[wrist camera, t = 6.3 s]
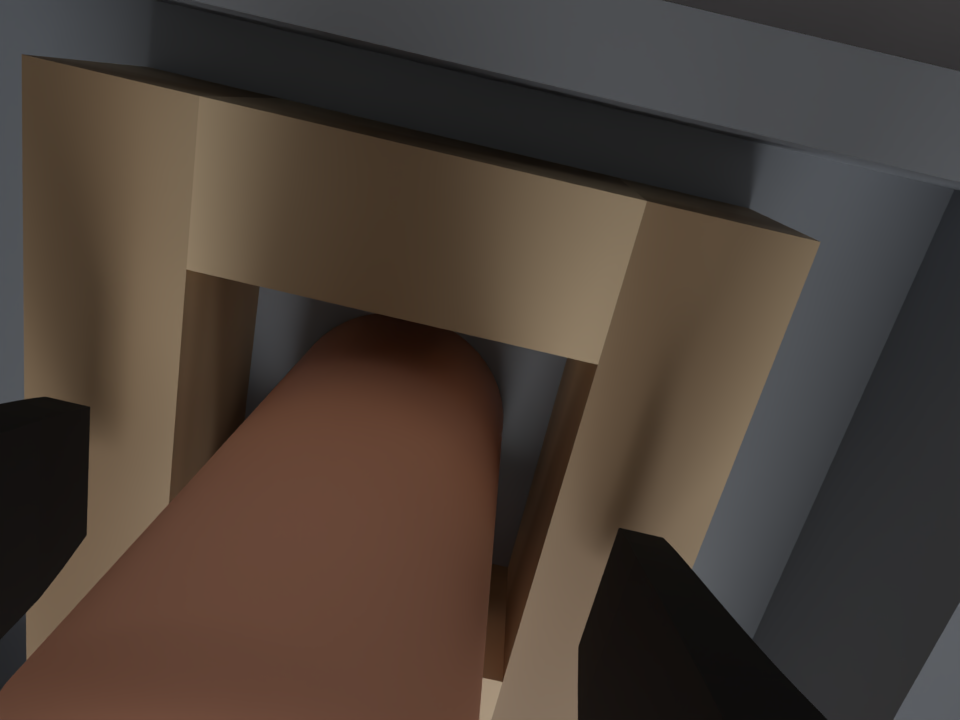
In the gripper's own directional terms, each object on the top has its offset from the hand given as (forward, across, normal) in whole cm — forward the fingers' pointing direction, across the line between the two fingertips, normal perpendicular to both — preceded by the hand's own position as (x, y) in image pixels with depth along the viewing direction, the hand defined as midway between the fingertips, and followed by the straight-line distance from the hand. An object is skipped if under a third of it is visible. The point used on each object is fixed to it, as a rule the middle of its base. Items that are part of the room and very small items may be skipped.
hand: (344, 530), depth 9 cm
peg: (+4, 0, 0) cm, 4 cm away
